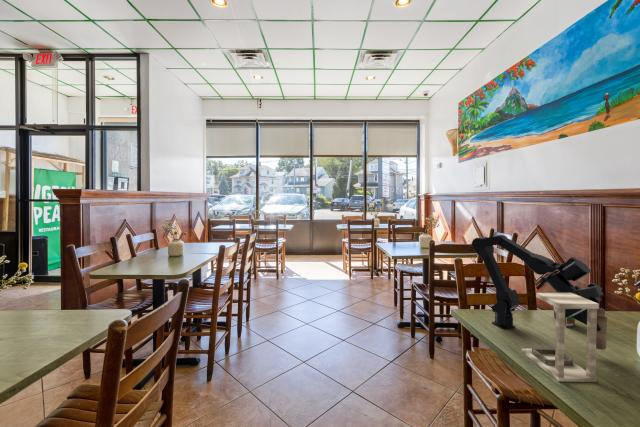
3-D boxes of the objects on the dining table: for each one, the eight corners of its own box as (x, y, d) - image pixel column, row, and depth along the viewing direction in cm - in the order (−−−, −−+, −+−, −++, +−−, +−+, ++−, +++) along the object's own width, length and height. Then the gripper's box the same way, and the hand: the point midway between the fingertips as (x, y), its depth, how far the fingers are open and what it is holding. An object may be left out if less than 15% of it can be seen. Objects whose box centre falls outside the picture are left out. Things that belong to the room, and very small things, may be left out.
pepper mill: (584, 343, 106) (585, 307, 105) (595, 342, 107) (596, 306, 106) (598, 350, 102) (599, 311, 101) (609, 348, 102) (610, 310, 102)
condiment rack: (521, 351, 109) (522, 286, 108) (553, 351, 109) (554, 286, 107) (558, 381, 91) (559, 303, 90) (596, 381, 91) (598, 303, 90)
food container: (585, 329, 125) (585, 305, 125) (568, 328, 127) (568, 305, 126) (567, 318, 137) (568, 296, 137) (552, 317, 139) (552, 295, 138)
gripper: (572, 280, 102) (616, 324, 93) (595, 272, 111) (636, 311, 102) (545, 297, 109) (583, 339, 100) (568, 288, 118) (604, 326, 110)
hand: (602, 328), depth 103 cm, fingers closed on pepper mill, 4 cm apart
